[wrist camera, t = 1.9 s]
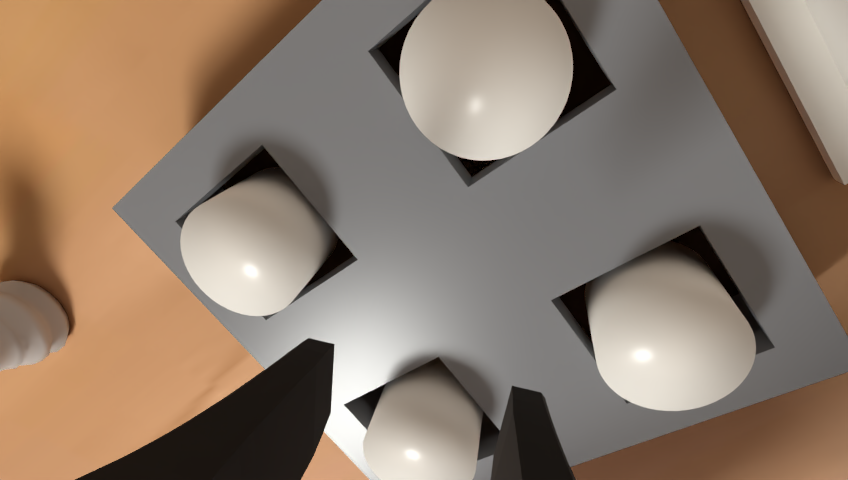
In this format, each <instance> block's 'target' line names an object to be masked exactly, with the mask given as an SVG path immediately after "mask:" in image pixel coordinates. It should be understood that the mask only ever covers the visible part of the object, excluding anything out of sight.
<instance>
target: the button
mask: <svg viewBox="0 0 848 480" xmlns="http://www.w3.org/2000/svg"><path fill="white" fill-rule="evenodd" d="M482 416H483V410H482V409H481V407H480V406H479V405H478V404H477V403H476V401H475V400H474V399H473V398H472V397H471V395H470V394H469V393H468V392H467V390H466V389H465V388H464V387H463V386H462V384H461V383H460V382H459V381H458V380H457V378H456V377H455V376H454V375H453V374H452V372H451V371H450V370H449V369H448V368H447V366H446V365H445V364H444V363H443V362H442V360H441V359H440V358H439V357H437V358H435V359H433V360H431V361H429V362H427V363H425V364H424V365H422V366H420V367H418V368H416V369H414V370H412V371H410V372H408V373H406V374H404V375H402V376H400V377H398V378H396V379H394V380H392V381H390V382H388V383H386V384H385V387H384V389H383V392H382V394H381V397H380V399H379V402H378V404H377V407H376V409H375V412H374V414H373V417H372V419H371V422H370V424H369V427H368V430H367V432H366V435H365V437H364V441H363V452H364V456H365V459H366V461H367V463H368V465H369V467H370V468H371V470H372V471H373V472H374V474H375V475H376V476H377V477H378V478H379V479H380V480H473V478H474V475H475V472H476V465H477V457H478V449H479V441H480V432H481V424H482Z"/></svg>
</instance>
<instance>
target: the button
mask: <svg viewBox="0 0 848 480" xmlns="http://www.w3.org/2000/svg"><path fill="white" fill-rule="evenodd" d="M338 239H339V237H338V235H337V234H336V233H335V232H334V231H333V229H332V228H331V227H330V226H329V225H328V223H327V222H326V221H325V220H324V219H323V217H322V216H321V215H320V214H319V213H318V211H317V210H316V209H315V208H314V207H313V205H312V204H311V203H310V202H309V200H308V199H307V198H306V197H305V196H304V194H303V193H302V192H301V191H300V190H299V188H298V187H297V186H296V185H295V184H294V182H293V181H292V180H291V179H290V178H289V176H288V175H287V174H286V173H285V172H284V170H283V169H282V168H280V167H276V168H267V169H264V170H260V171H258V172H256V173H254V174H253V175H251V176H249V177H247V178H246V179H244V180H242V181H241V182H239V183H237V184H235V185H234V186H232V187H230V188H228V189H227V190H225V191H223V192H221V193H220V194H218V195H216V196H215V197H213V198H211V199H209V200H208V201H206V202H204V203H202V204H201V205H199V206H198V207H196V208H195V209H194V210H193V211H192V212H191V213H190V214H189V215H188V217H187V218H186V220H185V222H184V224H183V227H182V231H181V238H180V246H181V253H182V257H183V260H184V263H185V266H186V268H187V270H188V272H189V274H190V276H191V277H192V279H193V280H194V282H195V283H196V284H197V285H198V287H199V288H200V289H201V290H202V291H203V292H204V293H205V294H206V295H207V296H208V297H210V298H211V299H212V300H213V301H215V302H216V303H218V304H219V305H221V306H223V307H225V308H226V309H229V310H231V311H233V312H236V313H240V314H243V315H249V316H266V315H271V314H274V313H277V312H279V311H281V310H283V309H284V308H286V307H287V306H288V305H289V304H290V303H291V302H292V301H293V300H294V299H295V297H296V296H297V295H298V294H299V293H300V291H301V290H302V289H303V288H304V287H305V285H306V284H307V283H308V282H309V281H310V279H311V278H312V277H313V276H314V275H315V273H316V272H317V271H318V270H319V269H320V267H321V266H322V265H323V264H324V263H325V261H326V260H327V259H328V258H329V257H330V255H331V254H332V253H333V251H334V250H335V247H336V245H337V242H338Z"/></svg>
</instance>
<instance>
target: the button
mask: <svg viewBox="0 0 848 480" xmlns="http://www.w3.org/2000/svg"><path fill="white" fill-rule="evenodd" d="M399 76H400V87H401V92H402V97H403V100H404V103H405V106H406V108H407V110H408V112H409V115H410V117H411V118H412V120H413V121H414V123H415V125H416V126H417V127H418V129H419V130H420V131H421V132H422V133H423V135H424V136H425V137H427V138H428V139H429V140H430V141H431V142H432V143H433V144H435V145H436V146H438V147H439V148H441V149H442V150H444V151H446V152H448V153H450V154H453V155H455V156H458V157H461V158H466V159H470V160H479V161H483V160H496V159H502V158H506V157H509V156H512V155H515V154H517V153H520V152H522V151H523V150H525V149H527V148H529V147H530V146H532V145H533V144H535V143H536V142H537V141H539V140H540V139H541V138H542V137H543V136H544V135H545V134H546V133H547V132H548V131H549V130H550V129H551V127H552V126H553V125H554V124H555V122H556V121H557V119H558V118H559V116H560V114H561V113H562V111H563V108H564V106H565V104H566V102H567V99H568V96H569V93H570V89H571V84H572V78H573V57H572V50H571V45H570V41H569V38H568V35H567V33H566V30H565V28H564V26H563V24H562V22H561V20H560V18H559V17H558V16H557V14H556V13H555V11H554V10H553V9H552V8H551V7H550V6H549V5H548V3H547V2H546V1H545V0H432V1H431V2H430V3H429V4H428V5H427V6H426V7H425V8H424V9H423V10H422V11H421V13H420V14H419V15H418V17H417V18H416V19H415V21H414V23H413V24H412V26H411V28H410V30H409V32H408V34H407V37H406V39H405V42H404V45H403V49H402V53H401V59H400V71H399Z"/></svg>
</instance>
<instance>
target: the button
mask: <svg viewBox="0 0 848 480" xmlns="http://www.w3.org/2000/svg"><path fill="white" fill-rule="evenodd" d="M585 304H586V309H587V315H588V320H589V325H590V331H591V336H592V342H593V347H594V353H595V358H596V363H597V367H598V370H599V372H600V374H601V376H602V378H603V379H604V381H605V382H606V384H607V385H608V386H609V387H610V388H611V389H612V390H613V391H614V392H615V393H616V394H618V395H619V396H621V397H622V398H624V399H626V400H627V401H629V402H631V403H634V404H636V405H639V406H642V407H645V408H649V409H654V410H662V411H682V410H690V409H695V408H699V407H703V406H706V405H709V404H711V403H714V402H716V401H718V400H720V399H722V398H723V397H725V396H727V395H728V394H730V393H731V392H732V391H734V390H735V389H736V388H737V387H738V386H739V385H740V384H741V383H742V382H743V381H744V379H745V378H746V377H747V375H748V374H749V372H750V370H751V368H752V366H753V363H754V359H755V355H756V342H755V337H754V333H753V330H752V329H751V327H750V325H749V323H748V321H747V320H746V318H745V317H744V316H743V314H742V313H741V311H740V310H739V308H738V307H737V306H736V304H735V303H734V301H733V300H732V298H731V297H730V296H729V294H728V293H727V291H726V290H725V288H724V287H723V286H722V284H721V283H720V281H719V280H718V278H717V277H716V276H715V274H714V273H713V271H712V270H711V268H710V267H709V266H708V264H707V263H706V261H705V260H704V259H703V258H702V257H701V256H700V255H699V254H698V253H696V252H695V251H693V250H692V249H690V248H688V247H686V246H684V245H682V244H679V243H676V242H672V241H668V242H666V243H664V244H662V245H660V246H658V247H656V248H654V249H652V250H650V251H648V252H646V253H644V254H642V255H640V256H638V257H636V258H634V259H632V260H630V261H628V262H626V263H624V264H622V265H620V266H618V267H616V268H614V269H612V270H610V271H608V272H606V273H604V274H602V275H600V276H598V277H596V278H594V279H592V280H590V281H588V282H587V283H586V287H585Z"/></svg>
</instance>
